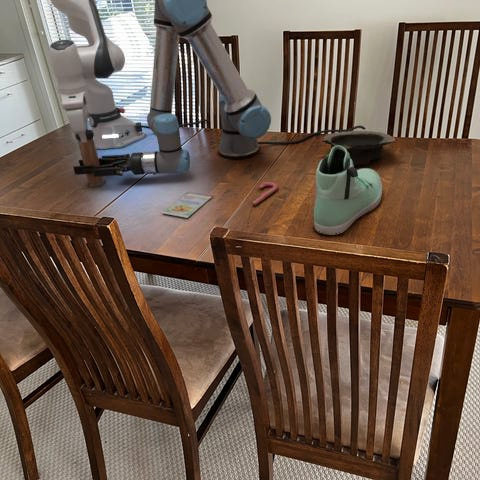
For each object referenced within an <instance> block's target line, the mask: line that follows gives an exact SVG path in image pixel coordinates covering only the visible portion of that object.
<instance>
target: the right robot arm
mask: <svg viewBox="0 0 480 480" xmlns="http://www.w3.org/2000/svg"><path fill="white" fill-rule="evenodd" d="M207 1H208V0H154V8H153V9H154V10H153V11H154V12H153V25H154V27H155V28H156V29H155V42H154V53H153V68H152V79H151V92H150V103H149V112H148V114H147V115H146V122H147V126H149V128H150V129H149V130H150V131H151V132H152V131H153V132H154V133H153V132H152V133H153V135H154V136H155V137H156V140H157V145H158V151H157V150H155V151H153V150H152V151H143V152H132V153H131V154H130V153H125V154H112V155H111V154H110V155H109V154H108V155H101V157H98V159H99V163H100V166H94V165H91V166H84V163H83V159H79V160H78V164H79V165H73V172H74V175H75V176H76V175H78V176H79V175H86V174H94V177H99V176H103V177H112V176H113V177H114V176H116V177H117V176H118V177H122V176H124V174H123V173H128V172H131V173H132V174H133V176H143V175H153V176H155V175H158V174H180V173H187V172H189V170H190V168H191V156H190V152H189V150H188V149H183V147H182V141H181V133H180V127H179V125H180V124H179V121H178V117H177V115H175V114H174V113H173V103H174V95H175V86H176V85H175V84H176V77H177V76H176V75H177V65H178V55H179V46H180V38H181V39H184V40H185V39H186V40H187V41H188V43H189V45H190V46H191V48H192V50H193V52H194V53H195V55H196V57H197V58H198V60H199V62H200V63H201V65H202V66H203V68H204V69H205V71H206V74H207V75H208V77H209V78H210V79H211V81H212V83H213V84H214V86H215V89H216V90H217V91H218V93H219V96H218V98H219V100H218V104H219V112H220V123H221V133H222V134H221V137H220V143H219V145H218V152H219V155H220V156H222V158H223V157H224V158H227V159H237V160H238V159H246V158H250V157H253V156H255V155H256V154H258V153H259V152H260V145H290V144H298V143H301V142H304V141H305V140H306V139H308V138H310V137H313V136H317V135H320V134H325V133H337V132H344V131H345V132H348V131H355V130H357V129H362V130H363V131H366V127H365V126H364V125H356V126H352V127H350V128H345V129H344V128H343V129H323V130H319V131H315V132H312V133H308V134H307V135H305V136H303V137H302V138H299V139H296V140H289V141H258V139H260V138H261V137H263V136H264V135H265V134H266V133H267V132H268V130H269V129H270V126H271V123H272V116H271V112H270V111H269V110H268V108H267V107H265V106H264V105H263V104H262V103H261V101H260V99H259V97H258V95H257V94H256V92H255V90H253V89H251V88H250V89H249V88H248V87H247V86H246V84H245V82H244V80H243V78H242V76H241V75H240V73H239V71H238V70H237V67H236V66H235V64H234V62H233V60H232V59H231V57H230V55H229V53H228V51H227V49H226V48H225V46H224V44H223V42H222V40H221V39H220V37H219V35H218V33H217V32H216V30H215V28H214V26H213V24H212V20H213V14H212V12H211V10H210V9H209V7H208V2H207Z"/></svg>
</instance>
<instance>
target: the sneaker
mask: <svg viewBox="0 0 480 480" xmlns="http://www.w3.org/2000/svg"><path fill="white" fill-rule="evenodd" d="M317 165H318V166H317V168H316V172H315V201H314V207H313V225H314V229H315V231H316V232H318V233H320V234H323V235H326V236H327V235H328V236H336V235H339V234H342V233H344V232H345V231H347V230H348V229H349V228H350V227H351V226H352V225H353V224H354V222H356V221H357V220H358V219H359V218H360V217H362V216H363V215H365V214H367V213H370V212H372V210H374V209H375V208H377V207H378V205H380V203H381V200H382V196H383V184H382V183H383V182H382V179H381V176H380V175H379V173H378V172H377V171H376V170H374V169H372V168H367V167H365V168H358V169H357V168H355V166H353V161H352V159H350V156H349V153H348V152H347V150H346V149H345V148H344V147H342V146H334V147H333V148H332V149H330V151H329V154H327V155H326V156H325V157H324V158H322V159H321V160H320V161H319V163H318V164H317ZM343 230H344V231H343ZM319 231H320V232H319ZM322 232H323V233H322ZM339 232H340V233H339ZM326 233H327V234H326ZM328 233H329V234H328ZM335 233H337V234H335Z"/></svg>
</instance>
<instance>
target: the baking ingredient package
mask: <svg viewBox="0 0 480 480" xmlns="http://www.w3.org/2000/svg"><path fill="white" fill-rule="evenodd" d="M211 198H212V196H209V195H204V194H197V193H192V192H187V193H186V194H184V195H183V196H182V197H181V198H180V199H178V200H177V201H175V203H173V204H172V205H170V206H169V207H168V208H167V209H165V210H164V211H163V212H162V214H165V215H168V216H169V215H171V216H175V217H180V218H189V217H190V216H191V215H192V214H194V213H195V212H196V211H197V210H198V209H199V208H201V207H202V206H203V205H204V204H205V203H207V202H208V201H209V200H210V199H211Z"/></svg>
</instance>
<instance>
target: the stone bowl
mask: <svg viewBox="0 0 480 480" xmlns="http://www.w3.org/2000/svg"><path fill="white" fill-rule="evenodd" d="M321 142H322V143H325V144H328V145H329V146H330V148H331V149H332V148H333V147H334V146H342V147H344V148H345V149H346V150H347V152H348V153H349V156H350V159H352V161H353V166H354V167H356V166H359V165H361V166H364V165H368V164H369V163H370V161H371V160H373V161H374V160H375V161H377V160H381V158H382V155H383V149H384V146H387V145H391V144H392V143H393V142H396V138H395V137H393V136H391V135H390V134H388V133H385V132H381V131H373V130H352V131H348V132H345V131H344V132H332V133H330V134H325V135H324V136H323V138H322V140H321ZM331 149H330V150H331Z"/></svg>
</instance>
